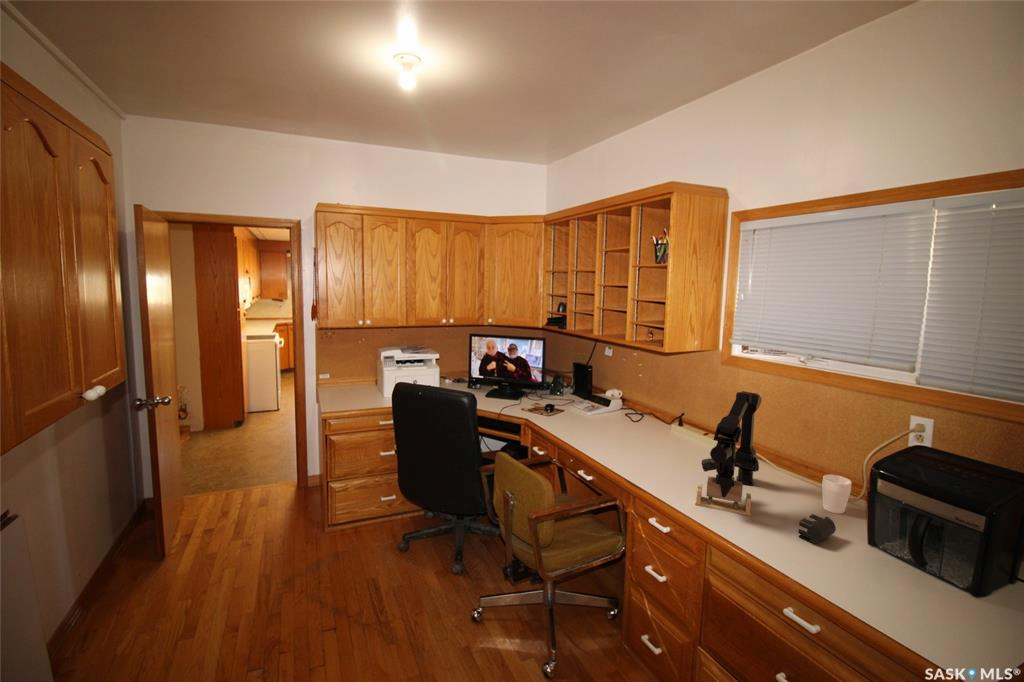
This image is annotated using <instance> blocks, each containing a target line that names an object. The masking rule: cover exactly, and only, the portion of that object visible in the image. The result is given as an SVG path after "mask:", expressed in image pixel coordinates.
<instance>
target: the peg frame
mask: <svg viewBox="0 0 1024 682" xmlns="http://www.w3.org/2000/svg"><path fill="white" fill-rule="evenodd" d="M702 491H703V484H700V483H698V485H697V490H696V496H695V498H696V499H695V503H694V504H695V506H697V507H698V506H699V507H702V508H704V507H705V508H709V509H714V510H720V511H724V512H729V513H734V514H739V515H744V516H749V517H751V515H752V512H751V511H752V509H751V505H752V494H751V493H750V492H746V495H745V503H740V502H734V501H729V500H724V499H719V498H713V497H708V496H702V494H703V493H702Z"/></svg>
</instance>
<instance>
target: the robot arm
mask: <svg viewBox="0 0 1024 682" xmlns="http://www.w3.org/2000/svg"><path fill="white" fill-rule="evenodd" d="M762 401H763V400H762V396H761V395H760V394H759V393H757V392H751V391H743V390H742V391H737V392H736V395H735V400H734V402H733V403H732V405H731V408H730V410H729V412H728V414H727V415H725V416H723V417H722V418H721V420H720V421H719V422H718V423H717V425H716V428H715V432H714V435H713V441H716V442H717V443H716V445H715V446H713V448H712V449H711V450H710V452H709V454H710V455H709V456H710V458H705V459H702V460H701V463H700V464H701V466H702V467H701V468H702V469H703V472H708V471H714V470H715V472H716V473H717V474H716V476H715V477H716V482H715V483H716V484H719V485H720V487H721V494H722V497H726V495H727V493H728V492H729V490H730V489H731V487H734V481H739V482H742V484H743V485H747V486H755V485H754V484H755V483H754V473H756V472H759V470H760V463H759V459H758V457H757V451H756V448H754V446H753V441H754V427H755V414H756V412H757V411H758V409H759V408H760V406H761V405H762ZM739 442H740V443H739ZM738 443H739V444H740V445H739V447H738V448H737V444H738ZM735 467H736V468H738V469H737V475H736V476H735V477H736V480H735V477H734V475H735V469H736V468H735Z"/></svg>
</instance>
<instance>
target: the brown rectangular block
mask: <svg viewBox="0 0 1024 682" xmlns="http://www.w3.org/2000/svg"><path fill="white" fill-rule="evenodd" d="M706 481H707V482H706V492H705V493H706V495H705V497H712V498H714V499H719V500H724V501H729V502H738V503H740V504H742V499H743V498H742V497H743V485H744V484H742V482H739V481H736V480H734V487H731V489H730V490H729V492H728V493H727V495H726V497H722V494H721V487H720V485H719V484H716V483H715V482H716V476H710V475H707V480H706Z"/></svg>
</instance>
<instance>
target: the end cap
mask: <svg viewBox="0 0 1024 682" xmlns="http://www.w3.org/2000/svg"><path fill="white" fill-rule="evenodd" d="M808 518H810V519H812V520H809V519H807V518H805V517H804V518H802V519H800V520H799V524H798V526H799V527H801V528H804V529H806V530H807V531H805V530H803V529H801V528H798V532H797V533H798V539H801V540H802V541H805V542H806V543H809V544H812V545H813V544H816V543H819V542H821V541H823V540H824V539H827V538H828V537H831V536H832V535H833V534H835V533H836V531H837V530H836V529H837V527H836V524H835V522H834V520H832V519H831V518H830V517H828V516H826V517H824V518H823V517H821V516H818V515H817V514H814V513H812V514H810V515H809V516H808Z"/></svg>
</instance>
